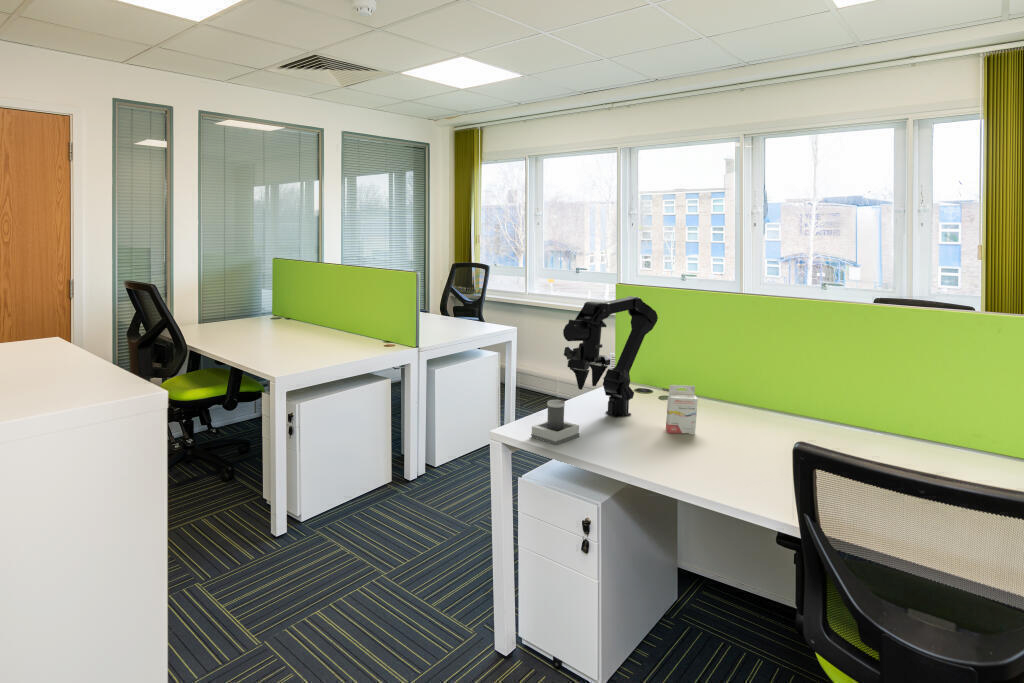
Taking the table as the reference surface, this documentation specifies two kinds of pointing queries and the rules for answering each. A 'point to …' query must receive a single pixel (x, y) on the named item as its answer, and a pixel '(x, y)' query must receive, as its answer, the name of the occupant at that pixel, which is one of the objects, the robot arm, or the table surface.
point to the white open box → (555, 433)
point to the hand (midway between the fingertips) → (587, 387)
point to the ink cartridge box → (681, 409)
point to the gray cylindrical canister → (555, 415)
